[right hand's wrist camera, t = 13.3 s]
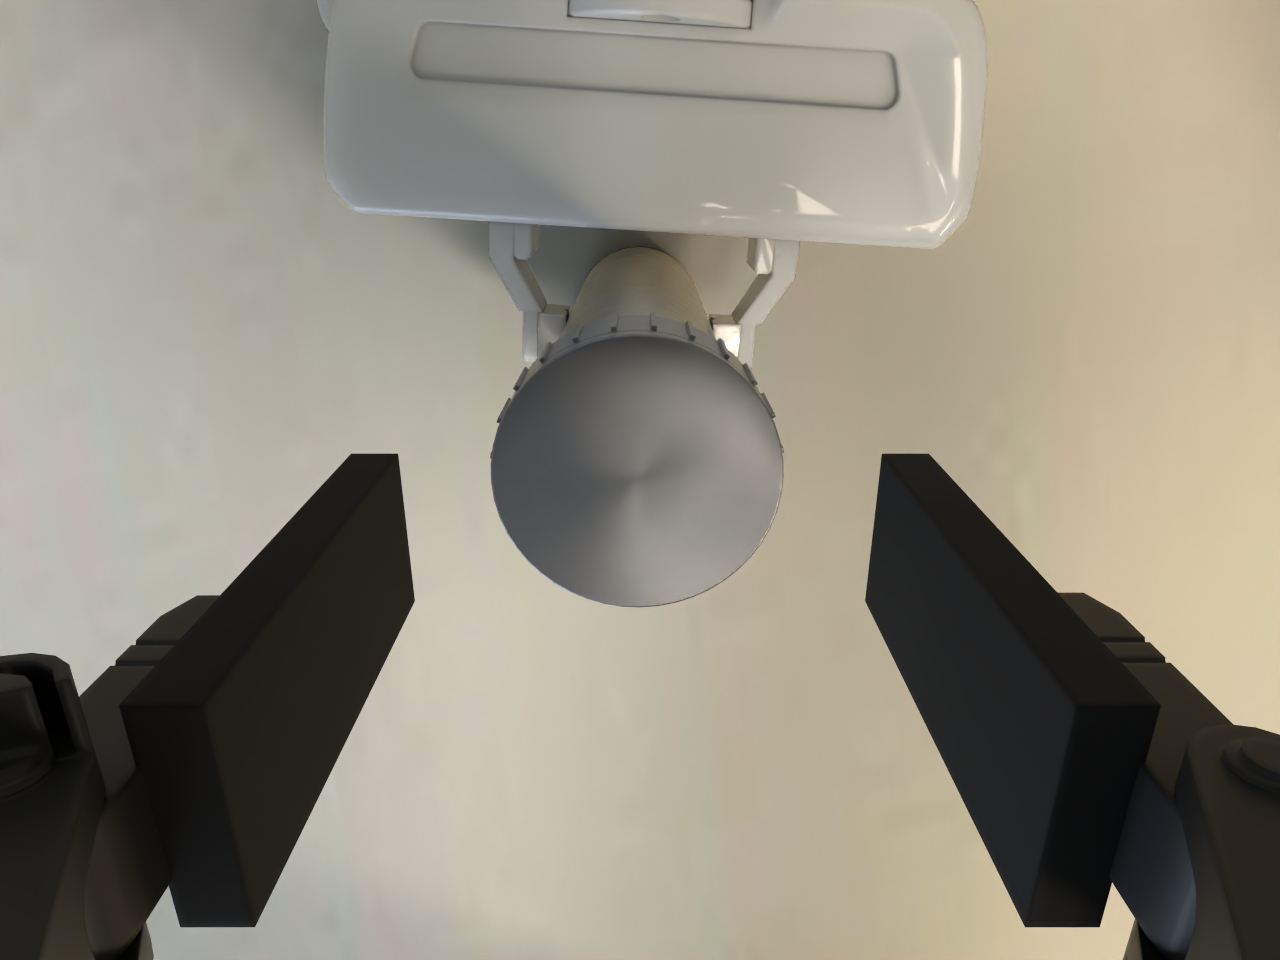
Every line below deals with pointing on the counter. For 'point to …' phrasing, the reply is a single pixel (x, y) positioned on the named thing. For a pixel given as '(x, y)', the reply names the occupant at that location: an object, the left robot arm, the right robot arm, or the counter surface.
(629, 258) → the bottle
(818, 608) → the counter surface
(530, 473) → the lid
